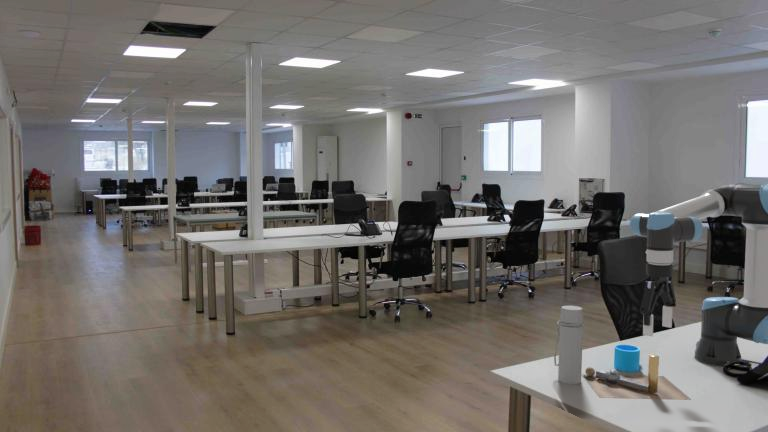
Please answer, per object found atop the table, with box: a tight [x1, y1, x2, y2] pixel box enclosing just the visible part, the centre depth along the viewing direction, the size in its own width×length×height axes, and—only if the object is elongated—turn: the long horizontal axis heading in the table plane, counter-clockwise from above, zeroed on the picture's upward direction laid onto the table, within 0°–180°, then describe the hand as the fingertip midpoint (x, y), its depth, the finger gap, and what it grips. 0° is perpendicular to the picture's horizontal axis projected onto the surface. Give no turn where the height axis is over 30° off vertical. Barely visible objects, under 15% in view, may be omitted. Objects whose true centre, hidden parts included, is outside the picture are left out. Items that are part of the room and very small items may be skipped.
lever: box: [595, 354, 660, 393], centre depth 201 cm, size 20×4×11 cm, turn 42°
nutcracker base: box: [581, 366, 691, 401], centre depth 202 cm, size 27×21×4 cm
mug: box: [613, 344, 641, 372], centre depth 221 cm, size 12×8×8 cm
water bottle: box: [553, 305, 584, 385], centre depth 207 cm, size 9×8×25 cm
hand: (657, 331), depth 198 cm, fingers open, 13 cm apart
